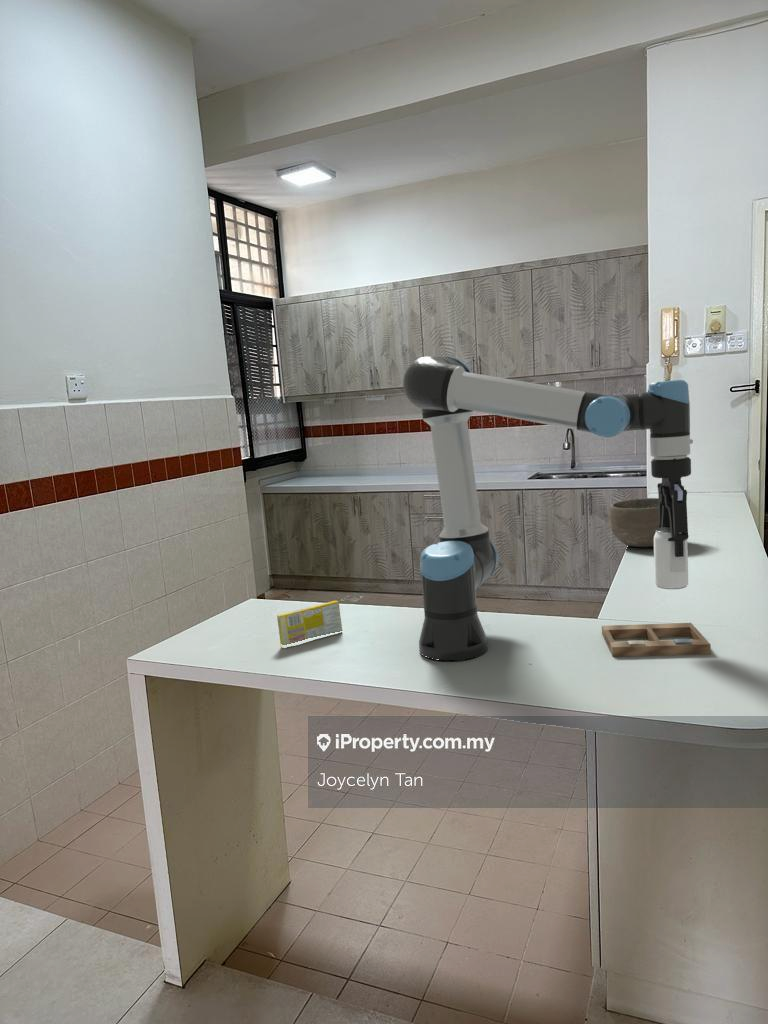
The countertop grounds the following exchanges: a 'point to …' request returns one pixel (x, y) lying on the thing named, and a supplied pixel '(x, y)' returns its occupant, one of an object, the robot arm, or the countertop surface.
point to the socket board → (655, 640)
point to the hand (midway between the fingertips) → (673, 567)
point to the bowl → (635, 521)
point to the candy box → (309, 622)
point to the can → (667, 562)
